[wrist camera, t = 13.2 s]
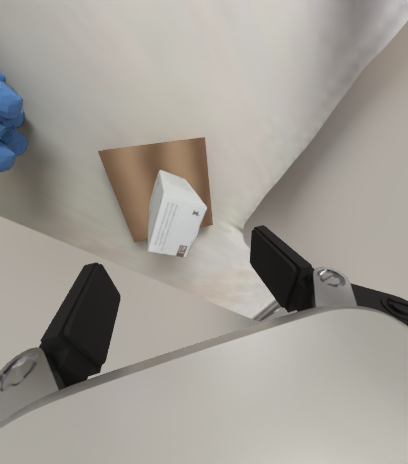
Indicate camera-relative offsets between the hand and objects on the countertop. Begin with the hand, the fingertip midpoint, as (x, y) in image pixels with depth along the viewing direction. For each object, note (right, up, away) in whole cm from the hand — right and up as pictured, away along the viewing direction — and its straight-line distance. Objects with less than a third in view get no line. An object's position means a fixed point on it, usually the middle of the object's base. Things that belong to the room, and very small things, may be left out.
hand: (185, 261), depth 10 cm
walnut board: (-5, +9, +17) cm, 20 cm away
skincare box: (-5, +8, +15) cm, 17 cm away
